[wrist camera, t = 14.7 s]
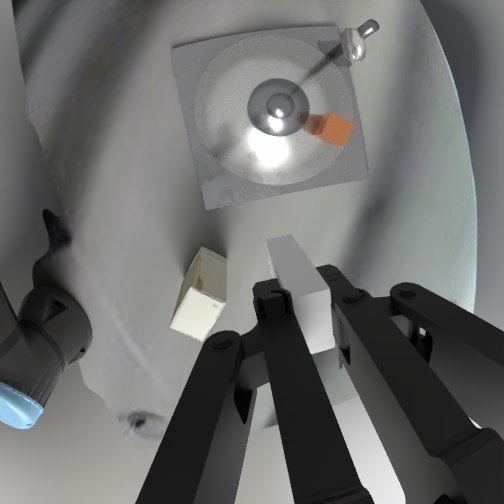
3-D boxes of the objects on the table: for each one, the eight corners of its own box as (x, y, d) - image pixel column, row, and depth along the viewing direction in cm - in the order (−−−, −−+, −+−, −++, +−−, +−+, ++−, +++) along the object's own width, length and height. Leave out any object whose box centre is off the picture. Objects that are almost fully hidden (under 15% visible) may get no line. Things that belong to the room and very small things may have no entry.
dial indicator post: (325, 78, 34) (364, 53, 22) (316, 43, 32) (350, 8, 20) (351, 76, 34) (397, 55, 22) (342, 42, 32) (384, 10, 20)
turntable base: (206, 209, 40) (206, 211, 39) (171, 51, 32) (169, 48, 31) (366, 178, 40) (369, 179, 39) (334, 28, 32) (337, 25, 31)
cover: (291, 146, 35) (298, 146, 31) (237, 124, 34) (239, 121, 30) (311, 97, 33) (321, 91, 29) (259, 75, 31) (263, 66, 28)
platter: (313, 207, 39) (325, 216, 34) (171, 150, 35) (162, 151, 30) (368, 80, 33) (386, 73, 28) (233, 18, 29) (234, 1, 24)
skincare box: (201, 244, 41) (191, 283, 30) (228, 258, 42) (228, 301, 31) (181, 281, 43) (167, 328, 32) (208, 293, 44) (202, 343, 33)
